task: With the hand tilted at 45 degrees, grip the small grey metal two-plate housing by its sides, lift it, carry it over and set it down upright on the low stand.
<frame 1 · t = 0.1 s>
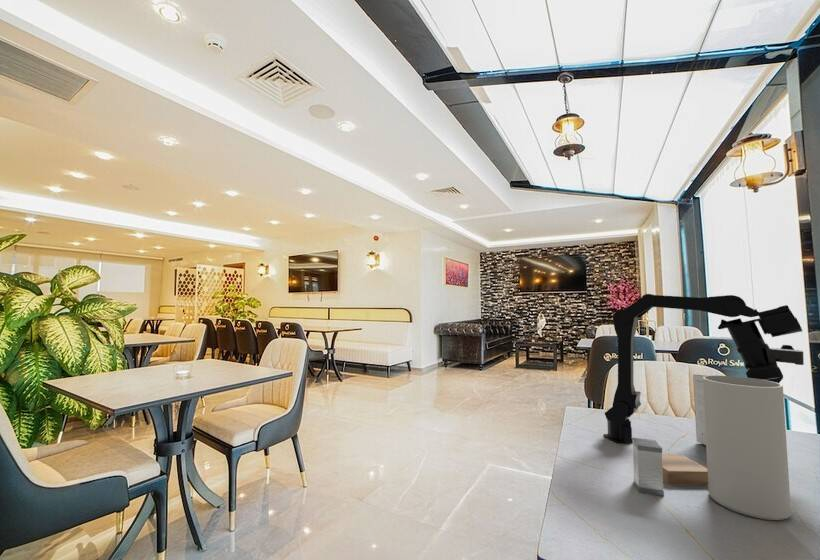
hand: (779, 404, 91), 17 cm above the table, tool tilted 20°, fingers open, 7 cm apart
housing: (648, 488, 83), on the table
stand: (675, 475, 89), on the table
hard drive box: (728, 450, 103), point 1 cm above the table, touching gripper
cylinder vase: (747, 505, 76), on the table
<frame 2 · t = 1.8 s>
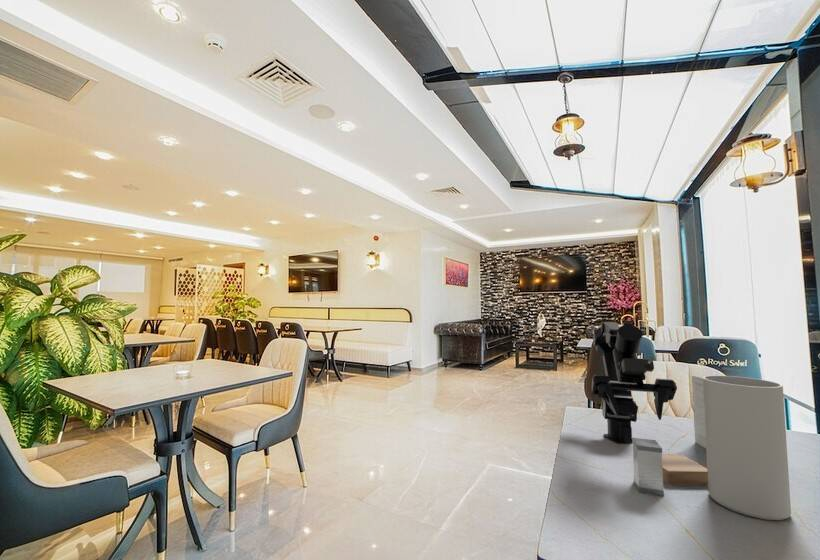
hand: (638, 416, 91), 13 cm above the table, tool tilted 45°, fingers open, 9 cm apart
hard drive box: (724, 453, 104), on the table
everything else where it was.
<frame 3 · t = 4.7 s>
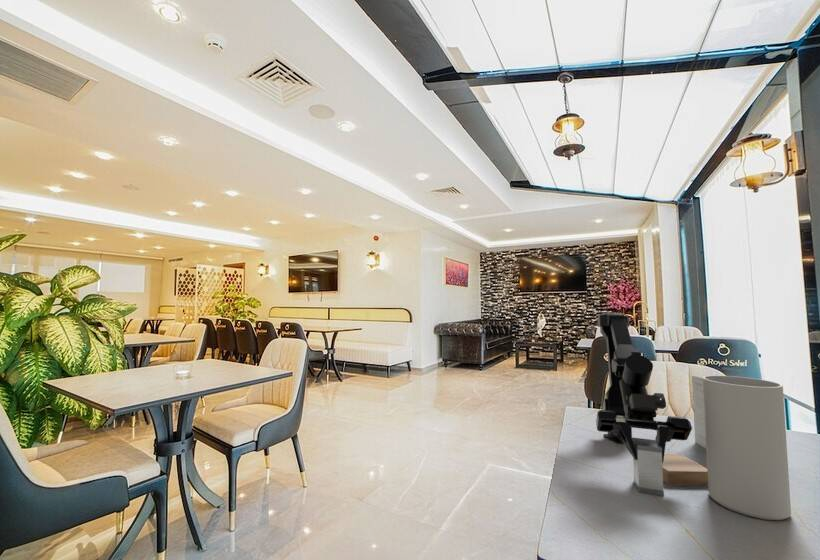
hand: (648, 460, 82), 7 cm above the table, tool tilted 45°, fingers closed on housing, 5 cm apart
housing: (648, 488, 83), on the table, touching gripper
everything else where it was.
when the fingers open (11 cm above the table, at t = 7.7 s): housing stays where it is, resting on stand.
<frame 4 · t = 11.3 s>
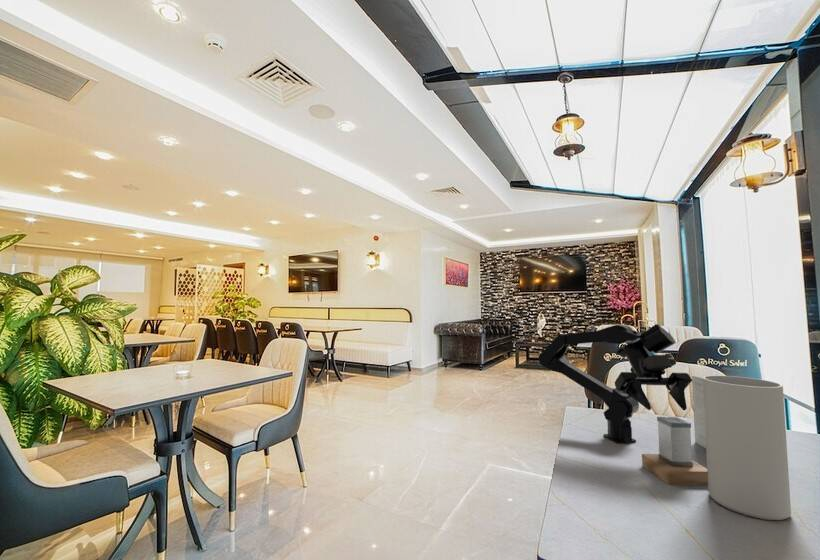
hand: (667, 409, 98), 14 cm above the table, tool tilted 45°, fingers open, 9 cm apart
housing: (675, 462, 90), point 3 cm above the table, touching stand
everything else where it was.
at the end: housing inside the target area on the stand (0.0 cm from its centre), point 3.0 cm above the stand's base; housing tilted 0°; the gripper is holding nothing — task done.
